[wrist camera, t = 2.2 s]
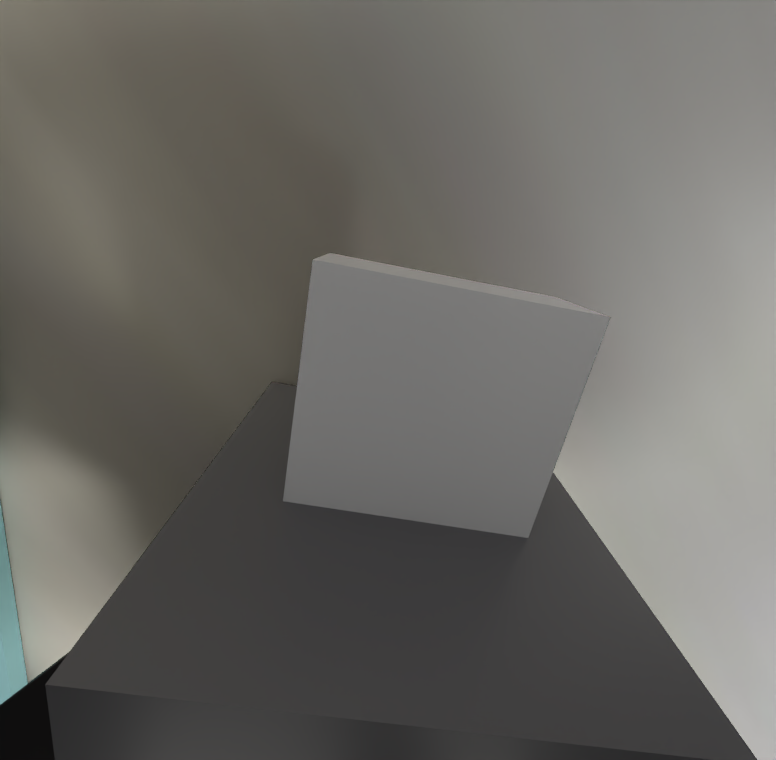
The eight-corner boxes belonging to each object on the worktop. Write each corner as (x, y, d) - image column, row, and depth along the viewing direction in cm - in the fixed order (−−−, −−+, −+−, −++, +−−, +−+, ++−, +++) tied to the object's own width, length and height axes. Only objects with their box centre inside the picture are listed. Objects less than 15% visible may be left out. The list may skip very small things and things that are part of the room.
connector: (412, 748, 10) (438, 1177, 6) (236, 729, 10) (107, 1166, 5) (562, 289, 7) (1021, 435, 2) (286, 235, 6) (-12, 243, 2)
